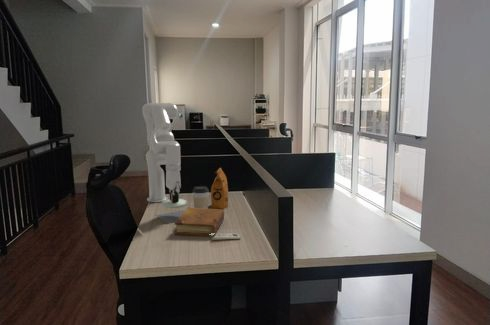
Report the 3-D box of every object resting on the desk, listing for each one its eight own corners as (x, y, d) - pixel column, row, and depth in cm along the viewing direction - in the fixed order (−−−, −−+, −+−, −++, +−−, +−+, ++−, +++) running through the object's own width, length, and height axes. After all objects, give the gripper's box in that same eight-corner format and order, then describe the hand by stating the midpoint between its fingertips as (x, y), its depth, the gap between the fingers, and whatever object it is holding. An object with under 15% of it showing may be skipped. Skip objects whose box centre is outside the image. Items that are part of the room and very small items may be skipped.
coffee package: (208, 209, 212) (207, 171, 209) (214, 203, 224) (213, 167, 221) (225, 209, 210) (224, 171, 207) (230, 203, 222) (229, 167, 219)
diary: (214, 237, 168) (214, 224, 167) (174, 234, 171) (174, 222, 170) (224, 219, 191) (224, 208, 190) (188, 217, 193) (188, 207, 192)
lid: (158, 202, 197) (157, 191, 196) (181, 199, 204) (181, 188, 203) (166, 209, 187) (166, 197, 186) (190, 205, 193) (190, 194, 192)
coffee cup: (211, 211, 208) (210, 185, 205) (207, 216, 199) (207, 188, 196) (195, 210, 208) (194, 184, 206) (191, 215, 200) (190, 188, 197)
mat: (155, 216, 198) (155, 215, 198) (183, 211, 207) (183, 210, 207) (165, 224, 185) (165, 223, 185) (195, 219, 193) (195, 217, 193)
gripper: (160, 164, 197) (162, 198, 200) (172, 170, 183) (173, 206, 186) (174, 163, 200) (175, 196, 204) (186, 169, 187) (187, 204, 190)
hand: (174, 200), depth 195 cm, fingers closed on lid, 3 cm apart
